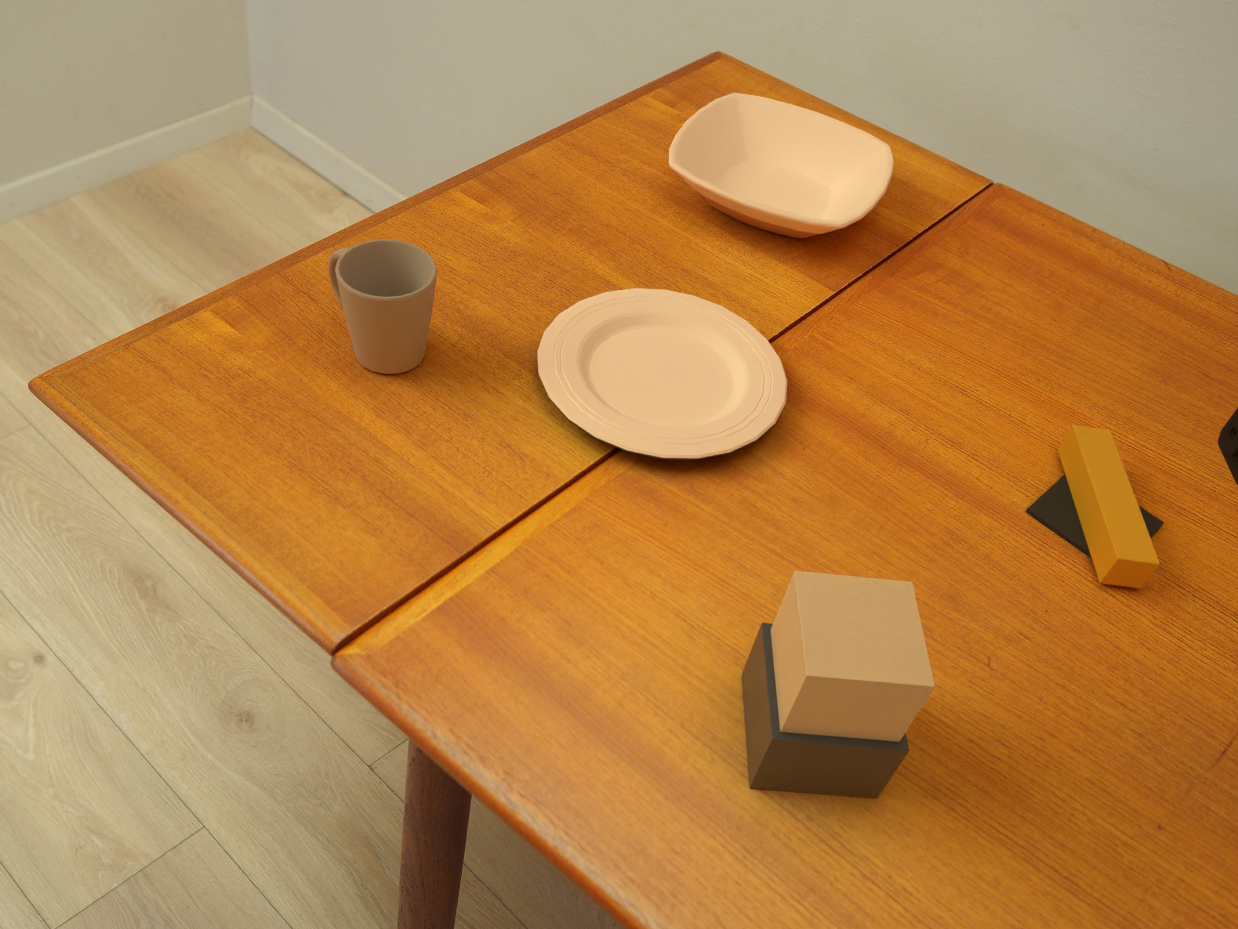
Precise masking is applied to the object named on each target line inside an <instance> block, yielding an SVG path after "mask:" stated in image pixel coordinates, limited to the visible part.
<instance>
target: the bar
mask: <svg viewBox="0 0 1238 929" xmlns="http://www.w3.org/2000/svg"><path fill="white" fill-rule="evenodd" d="M1058 446H1059V447H1058V448H1057V452H1058V455H1059V460H1060V463H1061V466H1062V469H1063V471H1064V474H1065V475H1066V478H1067V481H1068V485H1069V488H1070V491H1071V494H1072V497H1073V500H1074V504H1075V507H1076V510H1077V513H1078V516H1079V520H1080V523H1081V526H1082V529H1083V532H1084V535H1085V539H1086V542H1087V545H1088V548H1089V551H1090V554H1091V557H1090V559H1091V560H1092V564H1093V567H1094V570H1095V573H1096V577H1097V580H1098V583H1099V584H1102V585H1103V584H1104V585H1110V586H1111V585H1112V586H1120V587H1125V588H1126V587H1127V588H1135V589H1141V588H1143V586H1144V585H1145V584H1146V582H1147V581H1148V580H1149V579H1150V577H1151V576H1152V575H1153V574H1154V572H1155V571H1156V570H1157V569H1158V568H1159V566H1160V565H1161V563H1160V559H1159V557H1158V553H1157V552H1156V549H1155V547H1154V543H1153V541H1152V537H1151V538H1150V535H1149V533H1148V530H1147V527H1146V524H1145V522H1144V519H1143V516H1142V514H1141V511H1140V508H1139V506H1140V505H1139V503H1138V500H1137V497H1136V495H1135V492H1134V490H1133V487H1132V485H1131V482H1130V478H1129V477H1128V474H1127V471H1126V468H1125V465H1124V462H1123V459H1122V457H1121V455H1120V452H1119V449H1118V446H1117V443H1116V441H1115V439H1114V436H1113V433H1112V430H1111V429H1108V428H1101V427H1095V426H1086V425H1079V424H1072V426H1071V427H1070V428H1069V430H1068V431H1067V434H1065V437H1064V438H1063V440H1062V442H1061V443H1060V445H1058ZM1138 505H1139V506H1138Z"/></svg>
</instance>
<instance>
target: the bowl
mask: <svg viewBox="0 0 1238 929" xmlns="http://www.w3.org/2000/svg"><path fill="white" fill-rule="evenodd" d="M668 149H669V150H668V166H669V168H671V170H672V171H673V172H675V174H677V175H678V176H679V178H680V179H682V180H683V181H684V182H685V183H686V184H687V185H688V186H689V187H690V188H691V189H693V190H694V191H695V192H696V193H697V195H698V194H699V196H700V197H701V198H702V199H703V200H704V201H705V202H707V203H708V205H710V206H711V207H712V208H714V209H715V210H717V211H719V212H721V213H723V214H725V215H727V216H729V217H731V218H733V219H734V220H737V221H739V222H741V223H744V224H745V225H749V226H751V227H754V228H757V229H759V230H763V231H765V232H770V233H774V234H778V235H782V236H786V237H790V238H797V239H806V238H810V237H814V236H818V235H821V234H826V233H830V232H833V231H837V230H840V229H844V228H846V227H848V226H850V225H853V224H854V223H856V222H858V221H861V220H862V219H863V218H864V217H865V216H866V215H868V214H869V213H870V212H871V211H872V210H873V209H874V208H875V206H876V205H877V204H878V203H879V202H880V200H881V199H882V198H883V196H884V195H885V194H886V192H887V190H888V187H889V185H890V181H891V179H892V177H893V171H894V164H895V161H894V155H893V152H892V149H891V147H890V145H889V144H888V143H886V142H884V141H883V140H881V139H880V138H878V137H876V136H874V135H872V134H870V133H869V132H867V131H865V130H863V129H860V128H858V127H857V126H856V127H855V126H853V125H851V124H849V123H846V122H844V121H842V120H839V119H836V118H834V117H831V116H829V115H826V114H823V113H821V112H819V111H815V110H812V109H808V108H805V107H802V106H798V105H795V104H792V103H789V102H784V101H780V100H776V99H772V98H768V97H765V96H761V95H755V94H748V93H742V92H731V93H729V94H726V95H724V96H723V95H722V96H721V97H718V98H715V99H713V100H712V101H711V102H709V103H707V104H705V105H704V106H702V107H700V108H699V109H698V110H697V111H696V112H695V113H694V114H692V115H691V116H690V117H689V118H688V119H686V120H685V122H684V123H683V125H682V126H681V127H680V128H679V129H678V131H677V132H676V134H675V136H674V138H673V140H672V142H671V144H670V146H669V148H668Z"/></svg>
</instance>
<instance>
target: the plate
mask: <svg viewBox="0 0 1238 929" xmlns="http://www.w3.org/2000/svg"><path fill="white" fill-rule="evenodd" d="M536 356H537V371H538V378H539V380H540V382H541V384H542V387H543V389H544V391H545V393H546V396H547V397H548V399H549V401H550V402H551V403H552V404H553V405H554V406H555V407H556V408H557V410H558V411H559V412H560V413H561V414H562V415H563V416H564V418H566V419H567V421H569V422H570V423H571V424H573V425H574V426H576V427H577V428H579V429H580V430H582V431H583V432H585V433H586V434H588V435H589V436H591V437H592V438H594V439H595V440H597V441H600V442H603V443H604V444H607V445H609V446H612V447H615V448H616V449H619V450H622V451H624V452H626V453H630V454H636V455H640V456H645V457H650V458H654V459H660V460H684V461H685V460H688V461H689V460H690V461H694V460H695V461H698V460H699V461H700V460H703V459H708V458H714V457H719V456H725V455H729V454H732V453H734V452H736V451H739V450H740V449H742V448H745V447H747V446H749V445H751V444H753V443H755V442H757V441H759V439H760V438H761V437H762V436H764V435H765V434H766V433H767V432H769V430H771V429H772V427H774V426H775V425H776V423H777V421H778V418H779V417H780V415H781V414H782V411H783V410H784V407H785V406H786V404H787V403H786V402H787V391H788V379H787V376H786V372H785V369H784V365H783V362H782V359H781V357H780V356H779V355H778V353H777V352H776V350H775V348H774V347H773V346H772V345H771V343H770V341H769V340H768V339H767V338H766V337H765V336H764V335H763V334H762V333H761V332H760V331H759V330H758V329H756V327H754V326H753V325H752V324H751V323H750V322H749V321H748V320H746V319H745V318H743V317H741V316H740V315H738V314H736V313H735V312H732V311H731V310H730V309H728V308H726V307H724V306H723V305H720V304H717V303H715V302H712V301H710V300H707V299H704V298H701V297H699V296H696V295H693V294H689V293H683V292H679V291H674V290H669V289H663V288H641V287H640V288H638V287H637V288H636V287H634V288H633V287H632V288H626V289H619V290H618V289H617V290H610V291H605V292H601V293H599V294H595V295H592V296H590V297H587V298H584V299H581V300H579V301H577V302H575V303H574V304H572V305H571V306H569V307H568V308H566V309H564V310H563V311H561V312H560V313H558V314H557V315H556V317H554V319H553V320H552V322H551V323H550V324H549V325H548V326H547V328H546V329H545V330H544V331H543V334H542V337H541V340H540V343H539V346H538V348H537V351H536Z"/></svg>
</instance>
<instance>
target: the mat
mask: <svg viewBox="0 0 1238 929" xmlns="http://www.w3.org/2000/svg"><path fill="white" fill-rule="evenodd" d="M1138 506H1139V508H1140V511H1141V514H1142V516H1143V519H1144V522H1145V524H1146V527H1147V530H1148V533H1149V535H1150V538H1151V539H1152V537H1153V536H1154V535H1155V534H1156V533H1157V532H1158V531H1159V529H1160V528H1162V526H1163V525H1164V524H1165V521H1163V520H1162V519H1160V518H1159V517H1157V516H1155V515H1154V514H1152V513H1151V512H1149V511H1148V510H1147V509H1145V508H1144V507H1142V506H1140V505H1139V504H1138ZM1025 513H1027V514H1028V515H1030V516H1031V517H1032V518H1034V519H1035V520H1037V521H1038V522H1040V524H1042V525H1044V527H1045V526H1046V527H1047V528H1048V529H1049V530H1051V531H1052V532H1054V533H1055V534H1057V535H1058V536H1059V537H1061V538H1062V539H1063V540H1065V541H1067V542H1068V543H1069V544H1071V545H1072V546H1074V547H1075V548H1077V549H1078V550H1079V551H1080V552H1082V553H1084V554H1085V555H1086V556H1088V558H1091V554H1090V551H1089V548H1088V545H1087V542H1086V539H1085V535H1084V532H1083V529H1082V526H1081V523H1080V520H1079V516H1078V513H1077V510H1076V507H1075V504H1074V500H1073V497H1072V494H1071V491H1070V488H1069V485H1068V481H1067V478H1066V475H1065V473H1064V474H1063V475H1062V476H1061V477H1060V478H1059V479H1057V481H1056V482H1054V483H1053V484H1052V485H1051V486H1050V487H1049V488H1047V490H1046V491H1045V492H1044V493H1042V494H1041V495H1040V496H1039V497H1038V498H1037V499H1036V500H1035V501H1034V502H1033V503H1031V505H1029V506H1028V507H1027V508H1026V510H1025Z"/></svg>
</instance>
